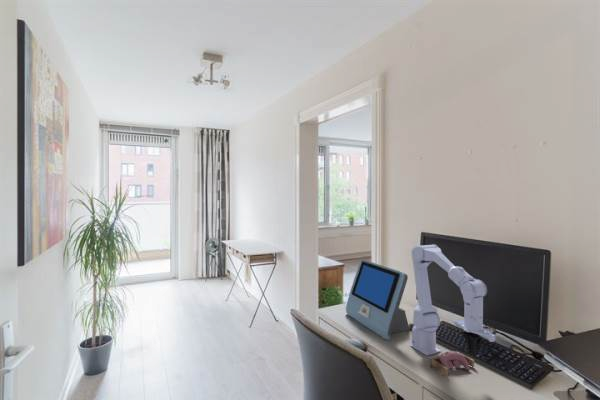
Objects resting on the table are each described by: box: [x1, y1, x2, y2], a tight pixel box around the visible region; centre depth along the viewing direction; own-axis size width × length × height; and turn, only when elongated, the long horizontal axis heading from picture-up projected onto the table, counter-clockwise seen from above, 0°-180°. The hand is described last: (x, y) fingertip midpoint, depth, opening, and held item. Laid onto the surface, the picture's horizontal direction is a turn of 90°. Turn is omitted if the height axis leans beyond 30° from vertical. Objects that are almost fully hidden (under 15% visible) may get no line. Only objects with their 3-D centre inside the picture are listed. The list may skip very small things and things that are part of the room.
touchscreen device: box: [345, 259, 410, 341], centre depth 160 cm, size 35×20×30 cm, turn 23°
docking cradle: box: [429, 351, 475, 378], centre depth 119 cm, size 7×15×3 cm, turn 115°
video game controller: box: [438, 350, 471, 374], centre depth 119 cm, size 10×5×7 cm, turn 100°
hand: (473, 353), depth 112 cm, fingers closed
